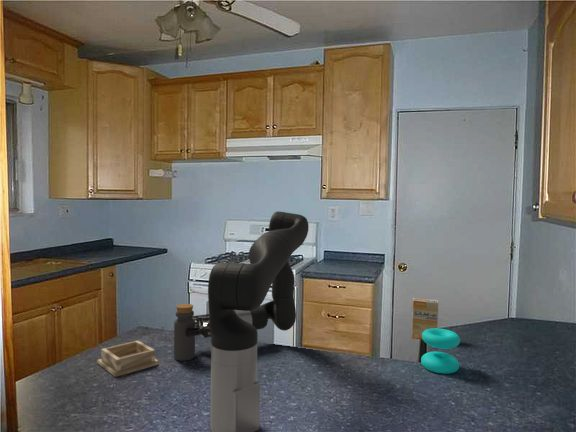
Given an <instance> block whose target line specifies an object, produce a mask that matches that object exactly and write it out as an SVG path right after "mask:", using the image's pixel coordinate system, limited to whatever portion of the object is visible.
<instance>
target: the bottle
mask: <svg viewBox="0 0 576 432" xmlns="http://www.w3.org/2000/svg"><path fill="white" fill-rule="evenodd" d="M175 308H176V311H175V316H176V317H177V319H175V320H174V322H173V328H174V331H173V344H174V345H173V347H174V348H173V359H175V360H176V361H180V362H181V361H182V362H184V361H185V362H186V361H190V360H192V359H194V358H195V357H196V355H195V354H196V336H190V337H186V336H185V329H186V328H193V327H195V322H196V321H195V320H194V319H193V318H192V316H195V312H194V310H193V309H194V305H193V304H191V303H181V304H177V305H176V307H175Z"/></svg>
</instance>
